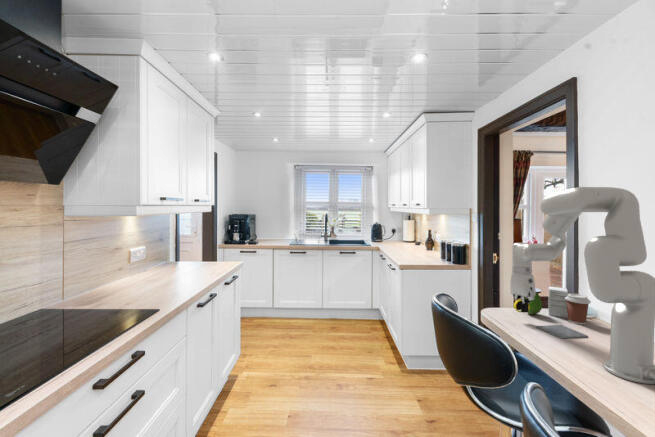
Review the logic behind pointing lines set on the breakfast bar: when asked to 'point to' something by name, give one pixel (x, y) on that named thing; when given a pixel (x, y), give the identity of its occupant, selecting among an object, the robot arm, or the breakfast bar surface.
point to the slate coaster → (562, 331)
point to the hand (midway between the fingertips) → (521, 310)
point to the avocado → (535, 305)
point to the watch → (517, 302)
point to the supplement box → (558, 301)
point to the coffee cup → (577, 308)
